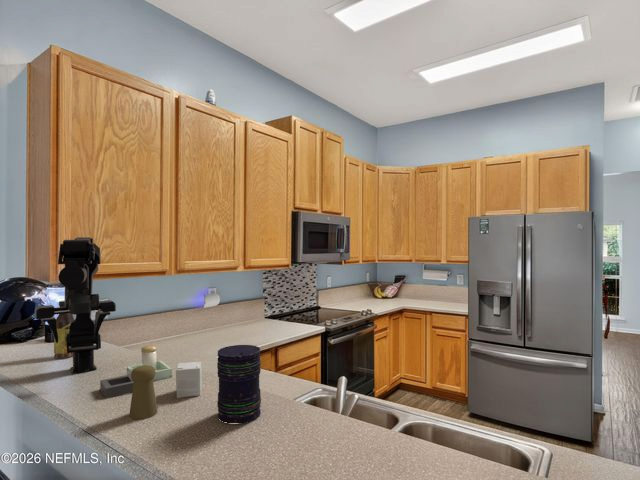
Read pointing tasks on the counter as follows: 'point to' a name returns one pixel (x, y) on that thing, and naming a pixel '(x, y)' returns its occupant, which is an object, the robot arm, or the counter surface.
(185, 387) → the skincare box
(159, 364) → the parts tray
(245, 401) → the storage jar
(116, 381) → the socket block
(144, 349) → the fuse
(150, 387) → the olive pepper mill
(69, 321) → the sauce bottle
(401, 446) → the counter surface
